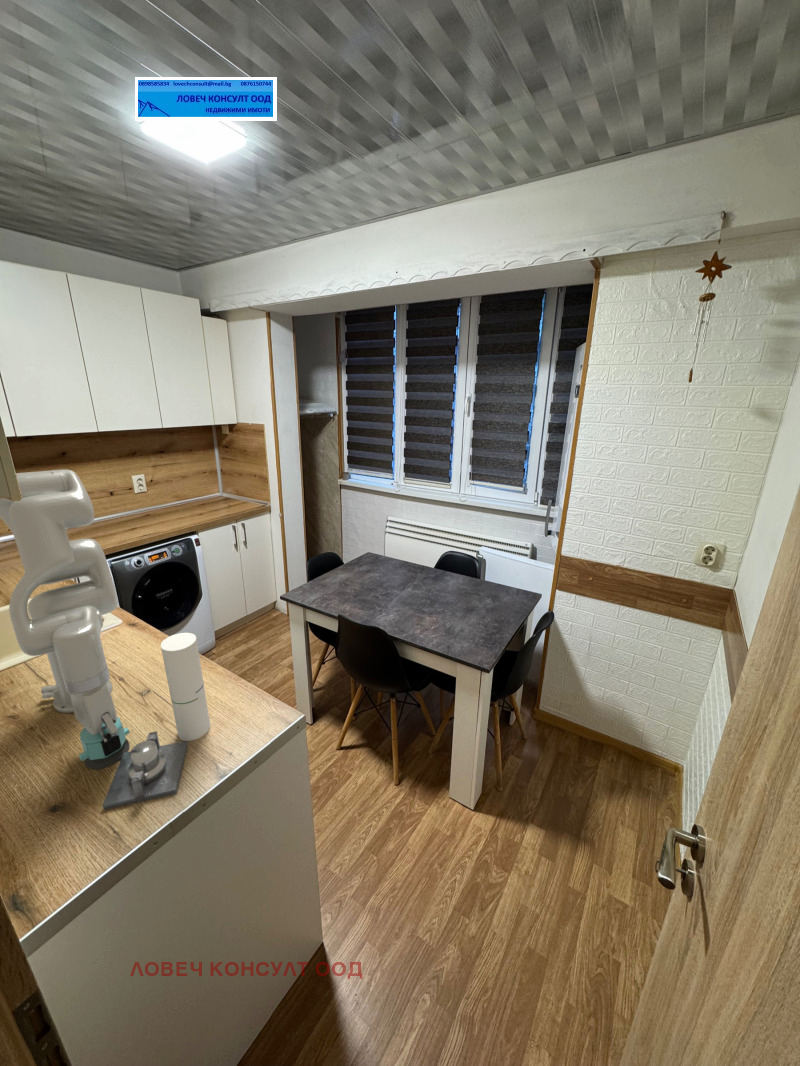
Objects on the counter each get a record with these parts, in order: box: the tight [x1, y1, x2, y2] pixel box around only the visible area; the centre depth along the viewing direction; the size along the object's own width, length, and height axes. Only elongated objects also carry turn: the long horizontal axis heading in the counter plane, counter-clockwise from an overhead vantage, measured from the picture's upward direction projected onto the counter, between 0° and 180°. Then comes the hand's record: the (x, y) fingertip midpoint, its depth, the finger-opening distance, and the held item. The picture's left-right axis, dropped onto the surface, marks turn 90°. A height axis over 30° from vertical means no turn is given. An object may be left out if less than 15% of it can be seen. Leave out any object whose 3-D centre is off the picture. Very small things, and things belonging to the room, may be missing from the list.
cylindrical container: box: [160, 632, 211, 742], centre depth 98 cm, size 7×7×25 cm
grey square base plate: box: [102, 731, 189, 811], centre depth 89 cm, size 13×13×7 cm
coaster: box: [83, 738, 130, 770], centre depth 94 cm, size 8×8×1 cm
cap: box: [78, 716, 130, 762], centre depth 93 cm, size 10×7×5 cm
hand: (104, 742), depth 94 cm, fingers closed on cap, 7 cm apart
